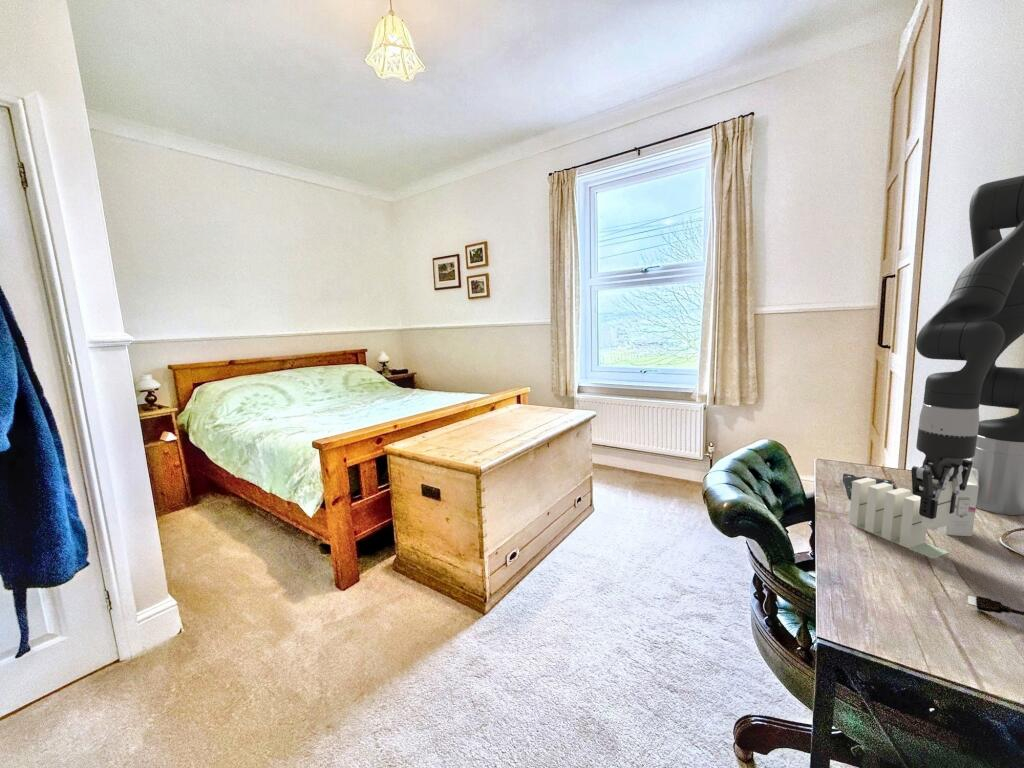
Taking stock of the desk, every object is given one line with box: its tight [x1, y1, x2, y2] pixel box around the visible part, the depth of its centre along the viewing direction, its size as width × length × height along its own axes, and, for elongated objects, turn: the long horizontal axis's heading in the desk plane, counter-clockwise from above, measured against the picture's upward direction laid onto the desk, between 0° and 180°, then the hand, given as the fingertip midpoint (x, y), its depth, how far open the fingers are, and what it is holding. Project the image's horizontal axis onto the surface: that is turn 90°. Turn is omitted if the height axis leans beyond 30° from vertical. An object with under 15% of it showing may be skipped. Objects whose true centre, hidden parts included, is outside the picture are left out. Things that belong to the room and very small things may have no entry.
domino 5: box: [921, 479, 954, 531], centre depth 77 cm, size 5×2×10 cm, turn 108°
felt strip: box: [846, 521, 950, 559], centre depth 84 cm, size 5×15×1 cm, turn 18°
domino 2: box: [864, 482, 893, 534], centre depth 87 cm, size 5×2×10 cm, turn 108°
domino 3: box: [881, 487, 912, 541], centre depth 84 cm, size 5×2×10 cm, turn 108°
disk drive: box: [842, 473, 897, 501], centre depth 105 cm, size 10×3×15 cm
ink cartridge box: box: [919, 468, 979, 537], centre depth 87 cm, size 9×5×15 cm, turn 168°
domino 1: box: [848, 477, 876, 527], centre depth 90 cm, size 5×2×10 cm, turn 108°
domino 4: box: [898, 494, 928, 549], centre depth 81 cm, size 5×2×10 cm, turn 108°
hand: (936, 513), depth 77 cm, fingers closed on domino 5, 5 cm apart
